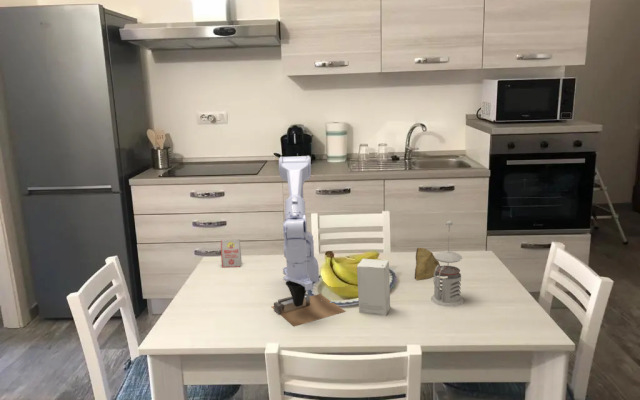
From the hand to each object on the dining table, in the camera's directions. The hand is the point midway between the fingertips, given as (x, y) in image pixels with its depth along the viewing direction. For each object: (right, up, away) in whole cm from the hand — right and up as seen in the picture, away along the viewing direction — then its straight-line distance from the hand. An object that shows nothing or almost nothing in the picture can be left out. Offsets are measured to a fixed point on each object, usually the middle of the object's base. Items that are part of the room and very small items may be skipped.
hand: (298, 305), depth 149 cm
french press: (+44, -1, +10) cm, 45 cm away
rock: (+43, +4, +29) cm, 52 cm away
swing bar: (-1, -2, +5) cm, 6 cm away
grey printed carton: (-27, +5, +45) cm, 52 cm away
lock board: (+3, -3, +4) cm, 6 cm away
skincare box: (+22, -3, +3) cm, 22 cm away
